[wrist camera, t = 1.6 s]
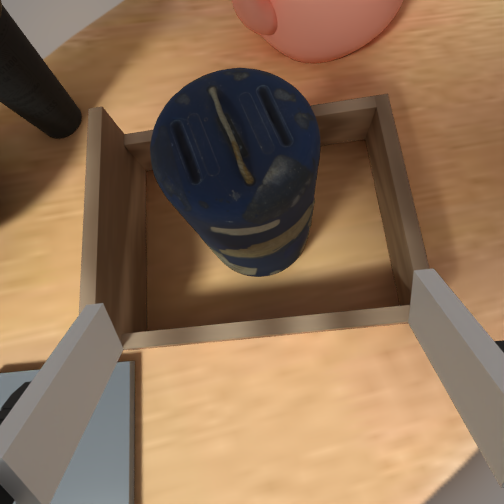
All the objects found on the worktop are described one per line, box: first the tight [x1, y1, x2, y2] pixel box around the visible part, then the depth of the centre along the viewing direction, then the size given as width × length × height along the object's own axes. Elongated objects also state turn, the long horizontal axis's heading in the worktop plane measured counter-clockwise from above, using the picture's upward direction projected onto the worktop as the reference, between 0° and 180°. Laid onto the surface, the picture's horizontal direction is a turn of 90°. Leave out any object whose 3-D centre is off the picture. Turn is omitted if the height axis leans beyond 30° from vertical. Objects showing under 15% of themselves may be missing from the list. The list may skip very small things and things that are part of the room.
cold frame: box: [79, 94, 429, 350], centre depth 30 cm, size 26×20×9 cm
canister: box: [150, 68, 320, 277], centre depth 25 cm, size 10×10×18 cm
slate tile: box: [0, 361, 135, 504], centre depth 30 cm, size 14×14×1 cm
